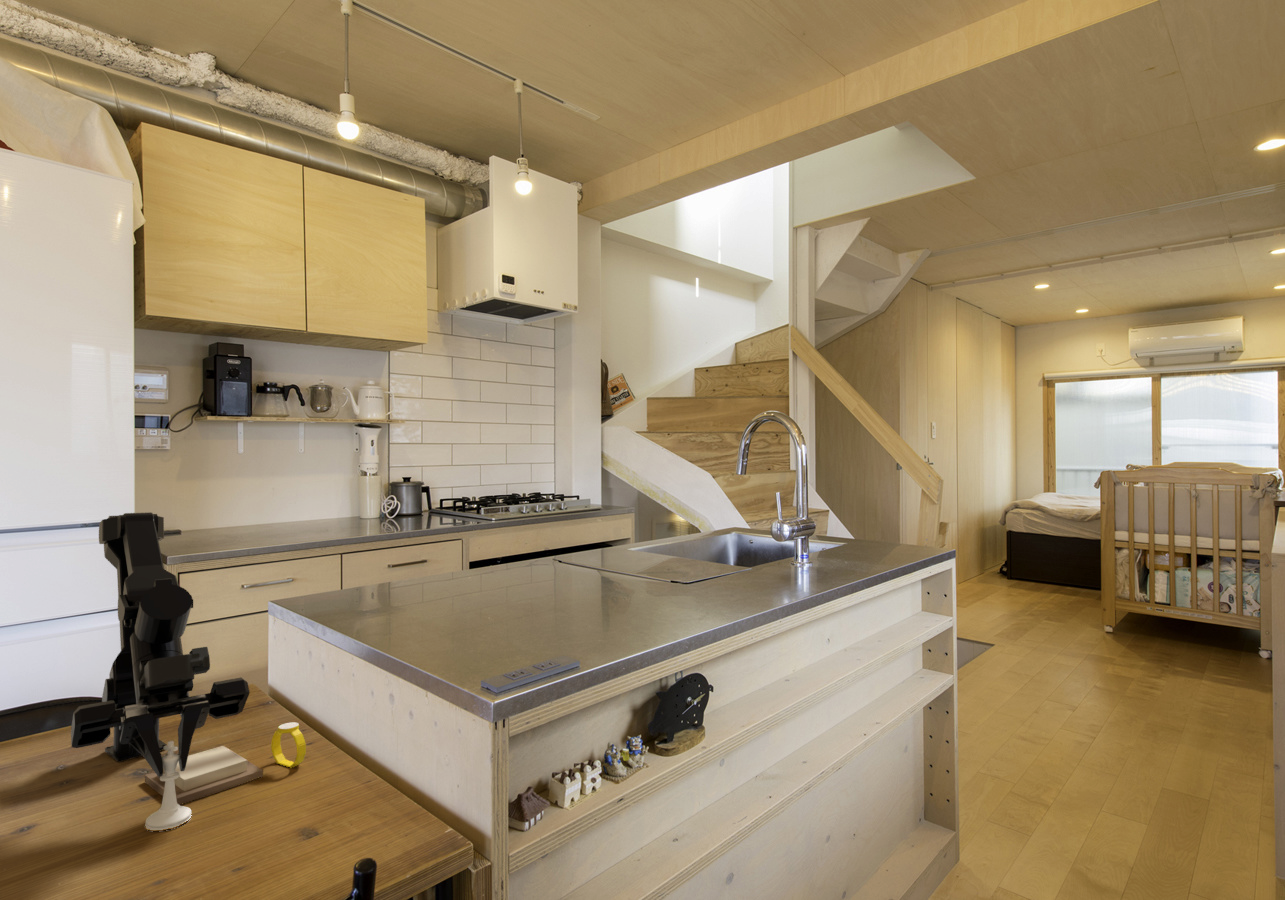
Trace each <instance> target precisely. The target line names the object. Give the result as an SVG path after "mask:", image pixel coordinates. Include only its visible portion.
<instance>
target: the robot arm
mask: <svg viewBox="0 0 1285 900" xmlns="http://www.w3.org/2000/svg"><path fill="white" fill-rule="evenodd" d="M164 519H165V518H164V517H163V516H159V515H158V514H157V513H153V512H149V511H148V512H125V513H123V514H119V515H109V516H108V517H107V518H105V519H102V520H101V521H100V522H99V525H98V543H99V545H103V552H104V553H103V555H104V558H105V559H106V560H107V562H109V563H110V564H111V565H112V566H113V567H114V568H115V569H116V575H117V598H118V599H117V619H118V621H119V636H120V639H119V641H120V652H119V653H118V654H117V656H116V657H115V659H114V660H113V662H112V665H111V669H110V672H109V678H105V681H104V687H103V691H102V695H101V696H102V697H101V702H93V703H90V704H84V705H79V706H78V707H77V708H76V709H75V710H74V711H73V713H72V722H71V728H70V742H71V745H70V746H71V748H74V749H80V748H85V747H89V746H94V745H98V744H99V745H100V744H103V743H105V741H106V740H107V739H108V738H109V737H111V734H112V733H111V728H112V729H113V745H110V746H106V747H105V748H104V752H105V753H106V754H107V755H108V756H110V757H111V758H113V759H114V760H115V761H116V762H118V763H119V762H124V761H127V760H132V759H134V758H138V757H143V758H144V760H145V761H146V762H147V763H148V765H149V766H150V768H151V769H152V770H153V772H155V773H156V774H157V776H158V777H161V776H162V775H163V762H162V757H163V756H162V753H161V751H164V750H163V748H164V746H166V745H168V743H165V742H164V741H162V740H160V719H161V718H167V717H172V716H176V715H180V722H179V725H178V728H177V740H178V742H177V746H178V750H177V752H178V753H177V754H179V755H180V758H179V766H180V770H181V771H184V770H185V767H186V763H187V759H188V756H189V755H190V749H191V745H192V739H193V736H194V733H195V731H196V730H197V729H201V728H202V727H204V726H205V724H206V721H207V718H208V716H209V717H212V718H213V719H216V720H217V719H218V720H219V719H222V718H223V719H224V718H228V717H234V716H237V715H239V714H240V713H242V712H243V711H244V708H245V706H246V702H247V701H248V698H249V695H250V692H251V691H250V687H249V683H248V681H247V680H245V679H244V678H243V677H237V678H230V679H225V680H220V681H215V682H213V683H212V685H211V686H212V687H211V690H210V692H209V693H204V694H198V695H192V696H190V692H192V691H193V689H194V679H195V675H200V674H201V675H202V674H206V673H208V671H209V670H210V668H211V660H210V653H209V648H208V646H201V647H195V648H192V649H191V650H190V651H189V653H187V654H186V653H185V654H184V652H183V644H182V636H183V635H184V634H185V631H186V628H187V624H188V621H189V616H190V614H191V613H190V612H191V609H194V599H193V597H192V596H193V595H191V593H190V592H189V591H188V590H187V589H186V588H184V587H182V586H180V585H179V582H178V578H177V575H175V574H174V573H172V572H170V571H168V570H167V569H166V568H165V567H164V563H163V562H164V561H163V557H162V551H161V547H160V541H162V540H164V539H165V527H164V526H165V525H164V524H165V523H164V521H165V520H164Z"/></svg>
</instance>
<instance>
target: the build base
mask: <svg viewBox="0 0 1285 900" xmlns="http://www.w3.org/2000/svg"><path fill="white" fill-rule="evenodd" d="M175 772H179V773H180V776H179V777H178V778H177V779H174V782H175V792H176V800H177V804H179V805H180V804H182V803H185V804H187V803H186V802H188V803H190V802H189V801H191V802H193V801H192V800H194V801H196V800H195V799H197V800H199V798H200V799H202V797H203V798H206V797H208V796H212V795H213V794H217V793H220V792H222V791H223V792H224V791H225V790H228V789H231V788H234V787H238V786H240V784H241V785H244V784H246V783H245V782H247V781H250V780H252V779H256V778H258V777H261V778H263V777H264V770H263V769H262V768H260V767H259V766H257V765H255V764H254V763H252V762H250V761H249V760H248V759H246V758H244V757H243V756H241V755H239V754H237V753H236V752H235V751H233V750H232V749H229V748H228V747H226V746H224V745H221V746H217V747H216V746H215V747H213V748H211V749H207V750H204V751H203V750H202V751H200V752H197V753H194V754H188V759H187V763H186V767H185V770H184V771H181V770H180V766H179V761H178V763H177V766H176V769H175ZM163 774H165V771H164V768H163ZM262 776H263V777H262ZM256 780H257V779H256ZM250 782H251V781H250ZM144 783H145V784H147V785H148V786H149V787H150V788H151V789H153V790H154V791H155V792H157V793H158V794H159V795H160V796H162V797H163V794H164V787H165V781H160V777H158V776H157V774H156V773H155V772H154V771H153V772H151V773H147V774H144ZM243 783H244V784H243ZM247 783H248V782H247ZM237 785H238V786H237ZM182 805H183V804H182ZM180 806H181V805H180Z"/></svg>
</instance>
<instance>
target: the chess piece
mask: <svg viewBox="0 0 1285 900" xmlns="http://www.w3.org/2000/svg"><path fill="white" fill-rule="evenodd" d="M174 744H175V743H174V740H169V741H167V745H166V746H164V748H163V750H162V751H167V754H166V755H163V756H161V757H162V762H163V768H164V771H165V774H163V775H162V776H161V777H160V781H165V787H164V794H163V796H162V800H161V807H159V808H158V810H156V811H155V812H153V813H151V814H150V815H149V816H148V817H147V818H146V819H145V825H144V827H145V826H146V828H147V829H150V830H163V829H168V828H173V827H176V826H179V825H180V824H183V823H184V822H186V821H188V820H189V819H190V818H191V816H192V817H193V815H191V814H192V811H193V810H192V809H191V808H190V807H188V806H183V805H179V804H177V800H176V792H175V782H174V779H177V778H178V777H179V776H180V773H179V772H175V769H176V766H177V763H178V761H179V758H180V755H179V754H178V753H175V752H176V751H177V752H178V745H174ZM191 819H192V818H191ZM191 819H190V820H191ZM190 820H189V821H190ZM189 821H188V822H189Z"/></svg>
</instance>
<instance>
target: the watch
mask: <svg viewBox="0 0 1285 900" xmlns="http://www.w3.org/2000/svg"><path fill="white" fill-rule="evenodd" d="M283 734H290V736H291V737H292V738H293V740H294V743H295V746H296V757H295V760H294V761H292V760H288V759H287V758H286V756H285V755H284V753H283V751H282V750H283V749H282V745H281V740H282V735H283ZM270 743H271V744H270V749H271V753H272V757H273V760H274V761H275V763H276V764H277V765H278V764H280V765H279V766H282V765H283V767H285V766H286V768H288V767H290V768H289V769H293V768H295V767H294V766H296V767H298V766H300V764H302V762H304V760H305V757H306V755H307V754H306V753H307V749H306V748H307V744H306V740H305V737H304V734H303V733H302V732H301V730H300V724H299V722H294V721H293V722H291V721H290V722H286V723H282V724H280V725H279V726H278V727H277V730H275V731H274V733H273V735H272V737H271V742H270ZM297 765H298V766H297ZM292 767H293V768H292Z"/></svg>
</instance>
